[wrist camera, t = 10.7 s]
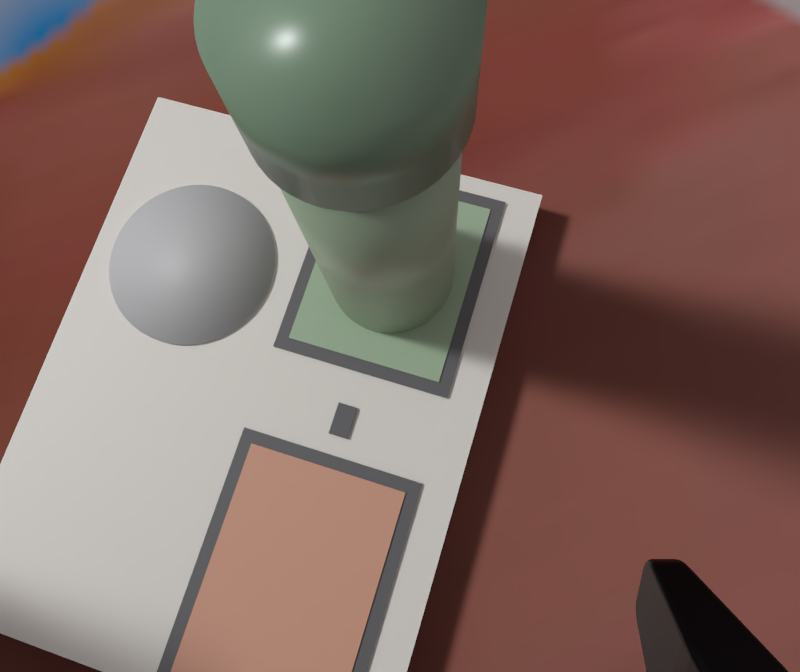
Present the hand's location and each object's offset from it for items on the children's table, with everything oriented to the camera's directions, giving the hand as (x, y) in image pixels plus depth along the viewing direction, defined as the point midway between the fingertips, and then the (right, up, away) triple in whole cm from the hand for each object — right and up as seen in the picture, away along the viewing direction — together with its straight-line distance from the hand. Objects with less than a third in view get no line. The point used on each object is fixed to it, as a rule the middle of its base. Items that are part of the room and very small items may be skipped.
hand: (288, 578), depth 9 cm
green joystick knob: (+1, +5, +13) cm, 14 cm away
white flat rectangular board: (-3, +1, +14) cm, 14 cm away
